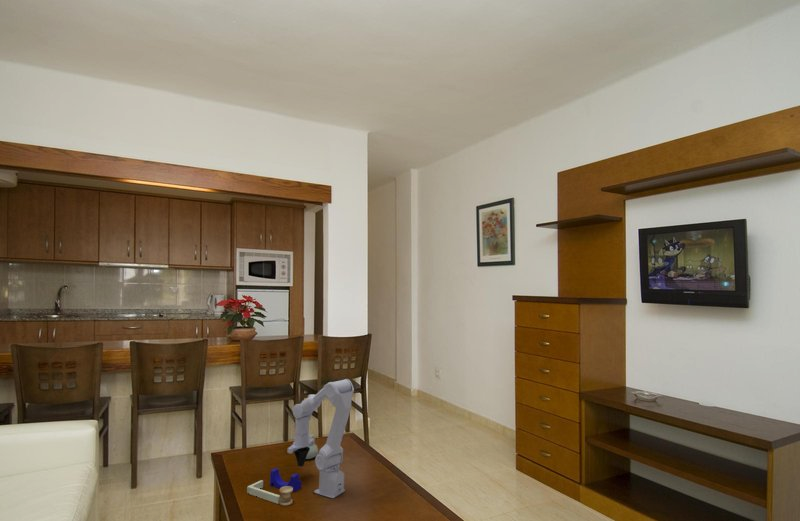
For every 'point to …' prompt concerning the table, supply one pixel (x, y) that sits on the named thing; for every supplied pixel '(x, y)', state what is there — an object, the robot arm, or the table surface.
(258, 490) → the notched fence
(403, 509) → the table surface
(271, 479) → the blue curved block
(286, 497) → the bobbin
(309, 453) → the air freshener
